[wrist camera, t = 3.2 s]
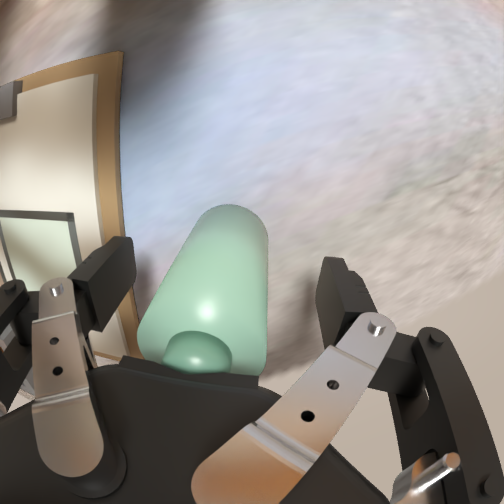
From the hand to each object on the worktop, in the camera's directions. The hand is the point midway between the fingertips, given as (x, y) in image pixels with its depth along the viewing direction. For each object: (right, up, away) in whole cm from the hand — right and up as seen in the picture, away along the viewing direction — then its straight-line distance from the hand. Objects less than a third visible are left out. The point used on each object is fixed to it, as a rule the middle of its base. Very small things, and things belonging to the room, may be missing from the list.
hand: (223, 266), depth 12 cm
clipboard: (-15, +2, +2) cm, 15 cm away
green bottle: (0, +1, +2) cm, 2 cm away
